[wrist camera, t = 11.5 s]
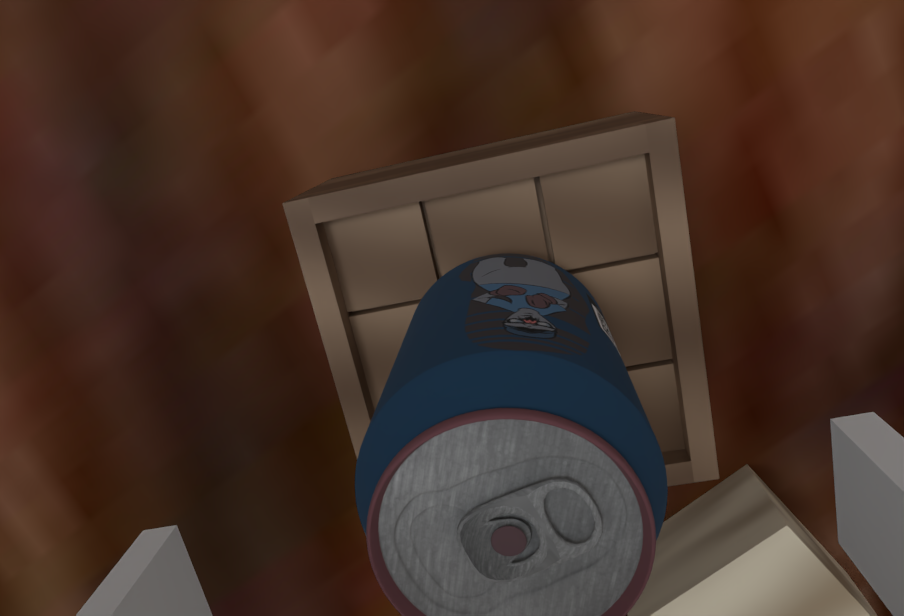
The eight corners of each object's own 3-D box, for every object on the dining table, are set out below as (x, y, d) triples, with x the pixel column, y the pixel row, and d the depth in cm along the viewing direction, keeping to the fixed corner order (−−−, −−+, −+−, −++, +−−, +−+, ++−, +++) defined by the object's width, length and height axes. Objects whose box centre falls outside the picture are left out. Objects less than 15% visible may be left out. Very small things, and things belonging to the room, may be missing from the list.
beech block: (613, 554, 35) (630, 628, 30) (745, 461, 33) (787, 525, 28) (711, 652, 36) (743, 737, 31) (844, 569, 34) (900, 647, 29)
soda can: (465, 451, 26) (435, 724, 15) (378, 295, 25) (270, 470, 13) (634, 380, 25) (742, 621, 14) (554, 210, 23) (601, 324, 12)
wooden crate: (331, 178, 30) (282, 203, 23) (634, 111, 28) (674, 117, 21) (402, 443, 33) (377, 529, 27) (674, 398, 32) (719, 478, 25)
